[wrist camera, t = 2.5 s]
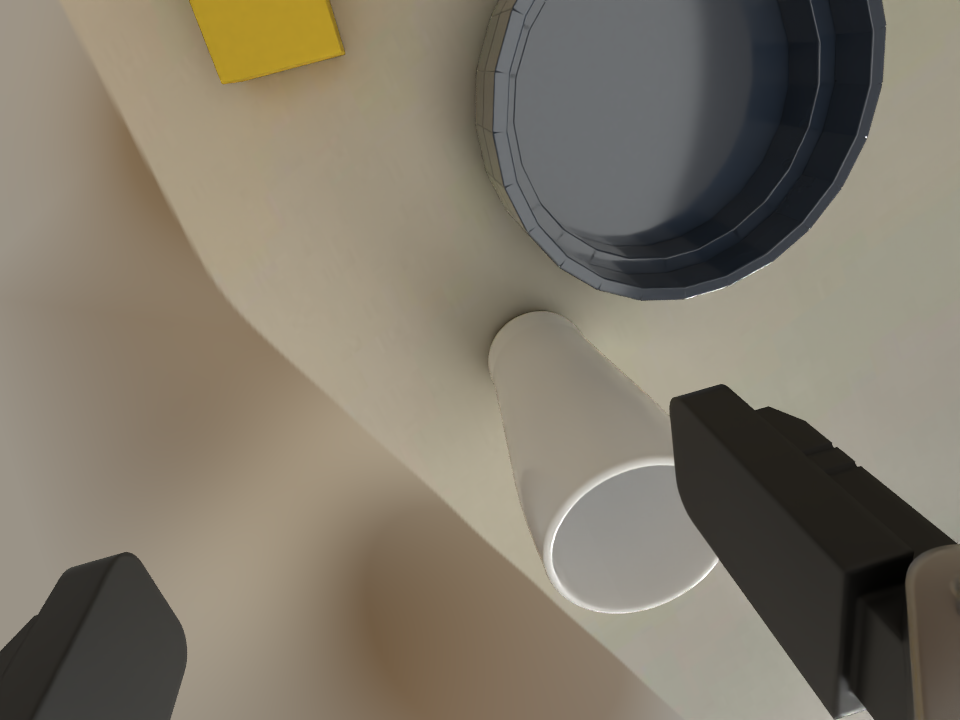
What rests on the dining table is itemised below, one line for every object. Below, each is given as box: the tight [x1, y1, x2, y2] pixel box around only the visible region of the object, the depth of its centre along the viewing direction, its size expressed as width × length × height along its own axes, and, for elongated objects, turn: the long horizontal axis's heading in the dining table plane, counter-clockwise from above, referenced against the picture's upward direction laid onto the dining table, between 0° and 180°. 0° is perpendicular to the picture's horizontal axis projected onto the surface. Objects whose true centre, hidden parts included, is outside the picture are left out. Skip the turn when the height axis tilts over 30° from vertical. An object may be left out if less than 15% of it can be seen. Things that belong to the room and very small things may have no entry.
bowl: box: [475, 0, 886, 301], centre depth 27 cm, size 16×16×5 cm
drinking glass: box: [488, 311, 719, 614], centre depth 27 cm, size 7×7×15 cm
